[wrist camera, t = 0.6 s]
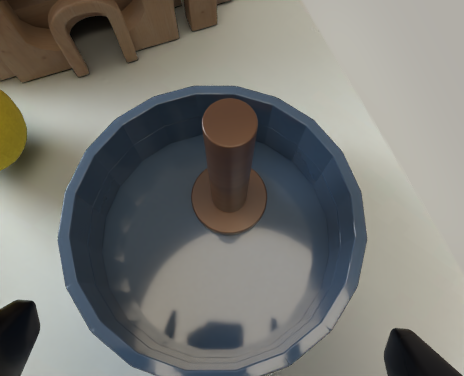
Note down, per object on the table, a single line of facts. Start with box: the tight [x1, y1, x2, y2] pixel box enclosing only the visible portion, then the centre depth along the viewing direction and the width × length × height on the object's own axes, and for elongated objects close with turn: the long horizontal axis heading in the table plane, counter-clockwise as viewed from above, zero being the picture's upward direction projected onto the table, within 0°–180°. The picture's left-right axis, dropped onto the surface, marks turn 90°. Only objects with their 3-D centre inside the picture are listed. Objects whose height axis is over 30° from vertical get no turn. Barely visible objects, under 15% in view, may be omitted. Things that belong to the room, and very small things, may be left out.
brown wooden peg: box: [191, 98, 267, 235], centre depth 19 cm, size 5×5×10 cm
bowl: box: [58, 86, 367, 376], centre depth 21 cm, size 15×15×6 cm
